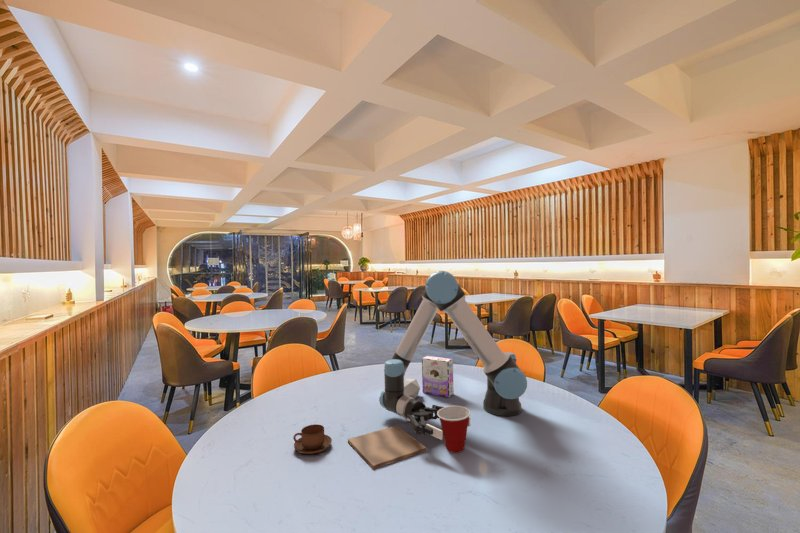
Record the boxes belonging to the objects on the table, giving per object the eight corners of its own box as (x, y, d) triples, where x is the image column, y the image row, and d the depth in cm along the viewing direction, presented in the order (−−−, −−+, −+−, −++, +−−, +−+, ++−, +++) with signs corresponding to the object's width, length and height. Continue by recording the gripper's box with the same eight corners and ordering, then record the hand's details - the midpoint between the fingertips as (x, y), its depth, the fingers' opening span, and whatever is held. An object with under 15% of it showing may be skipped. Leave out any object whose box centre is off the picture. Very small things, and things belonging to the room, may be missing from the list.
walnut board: (396, 428, 128) (396, 425, 128) (426, 450, 112) (426, 447, 112) (347, 442, 119) (347, 439, 119) (373, 469, 102) (373, 465, 102)
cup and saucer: (298, 461, 107) (297, 441, 107) (291, 444, 118) (290, 426, 118) (336, 451, 113) (335, 432, 113) (326, 436, 123) (325, 418, 124)
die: (414, 403, 154) (425, 383, 157) (397, 392, 155) (408, 373, 158) (413, 403, 161) (423, 384, 164) (397, 393, 163) (407, 374, 166)
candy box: (454, 394, 163) (453, 358, 163) (448, 398, 158) (448, 361, 158) (427, 388, 170) (427, 354, 170) (421, 392, 165) (421, 357, 165)
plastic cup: (434, 441, 119) (434, 405, 119) (466, 439, 119) (465, 403, 120) (441, 458, 108) (440, 419, 108) (475, 456, 109) (474, 417, 109)
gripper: (435, 409, 137) (480, 428, 121) (384, 429, 120) (429, 454, 104) (434, 390, 137) (479, 406, 121) (384, 407, 120) (428, 428, 104)
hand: (456, 428), depth 112 cm, fingers open, 13 cm apart
